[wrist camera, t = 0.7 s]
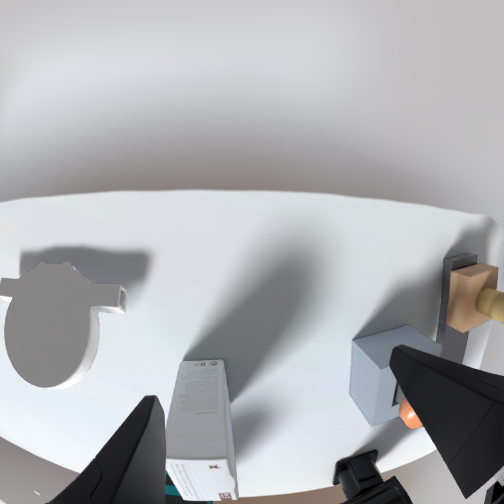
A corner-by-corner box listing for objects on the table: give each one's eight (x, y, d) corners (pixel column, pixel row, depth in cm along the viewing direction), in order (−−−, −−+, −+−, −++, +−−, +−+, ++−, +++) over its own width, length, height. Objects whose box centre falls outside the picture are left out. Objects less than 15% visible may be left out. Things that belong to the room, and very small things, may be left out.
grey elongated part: (126, 256, 21) (86, 380, 12) (146, 315, 26) (129, 419, 18) (9, 256, 20) (-39, 341, 11) (38, 306, 25) (8, 386, 16)
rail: (441, 408, 28) (446, 413, 27) (416, 421, 28) (421, 426, 27) (468, 253, 25) (477, 254, 23) (443, 258, 25) (452, 261, 23)
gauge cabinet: (403, 375, 26) (430, 401, 20) (349, 393, 26) (371, 426, 20) (410, 323, 25) (444, 345, 19) (352, 340, 25) (380, 369, 19)
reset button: (420, 397, 20) (440, 416, 17) (384, 412, 20) (402, 435, 16) (428, 361, 20) (452, 379, 16) (390, 376, 19) (412, 398, 16)
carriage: (476, 311, 24) (522, 331, 16) (445, 323, 24) (495, 351, 16) (480, 263, 23) (532, 276, 15) (450, 271, 23) (507, 289, 15)
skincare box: (178, 360, 24) (151, 455, 12) (226, 357, 24) (228, 456, 12) (190, 408, 24) (177, 501, 12) (234, 406, 25) (240, 501, 13)
